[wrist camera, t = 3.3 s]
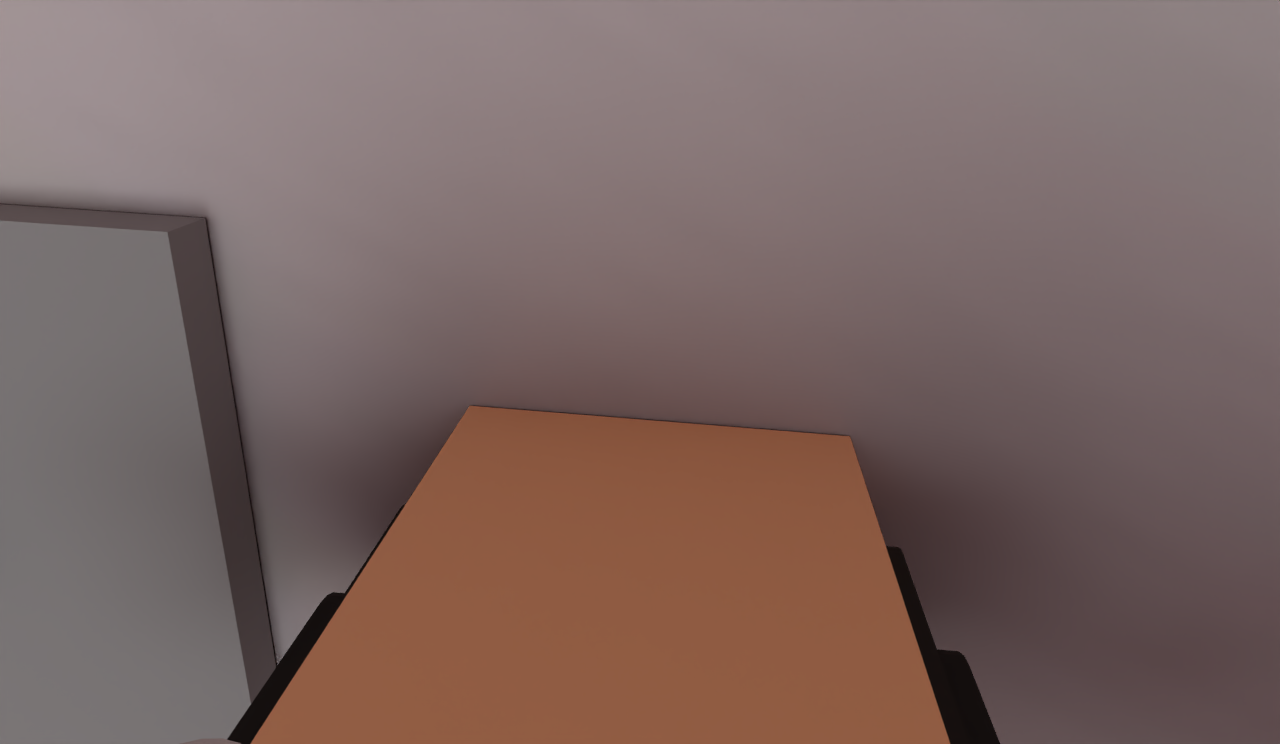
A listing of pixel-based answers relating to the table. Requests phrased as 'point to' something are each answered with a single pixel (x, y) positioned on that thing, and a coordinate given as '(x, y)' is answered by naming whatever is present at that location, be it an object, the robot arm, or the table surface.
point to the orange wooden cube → (621, 597)
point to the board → (121, 488)
